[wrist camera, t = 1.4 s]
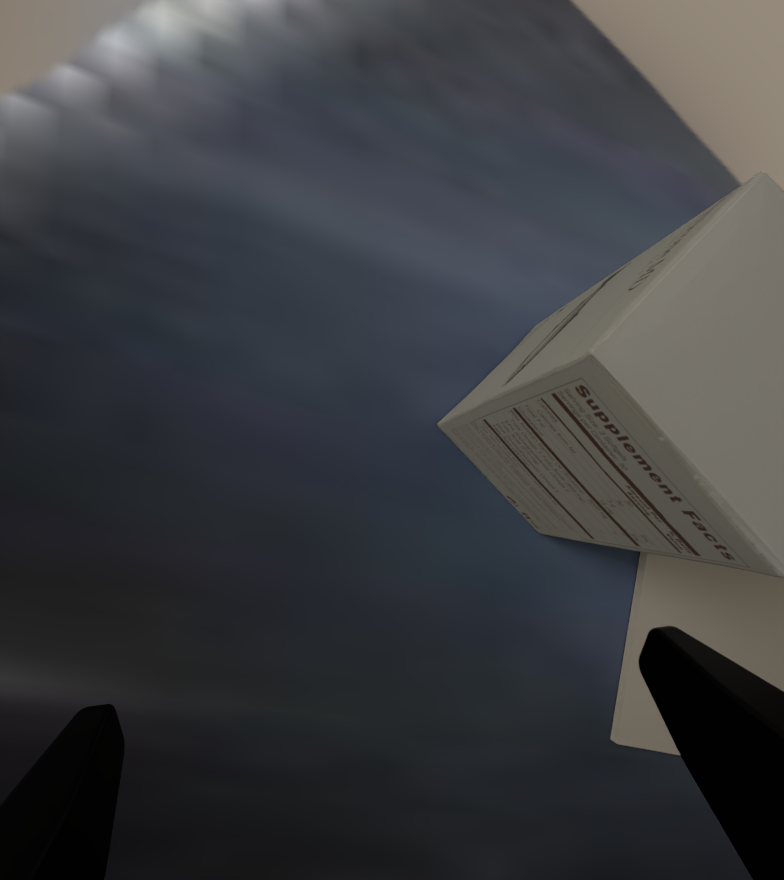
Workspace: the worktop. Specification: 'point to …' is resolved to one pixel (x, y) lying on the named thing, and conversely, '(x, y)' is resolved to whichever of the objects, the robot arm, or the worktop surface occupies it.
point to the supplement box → (654, 399)
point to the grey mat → (696, 632)
